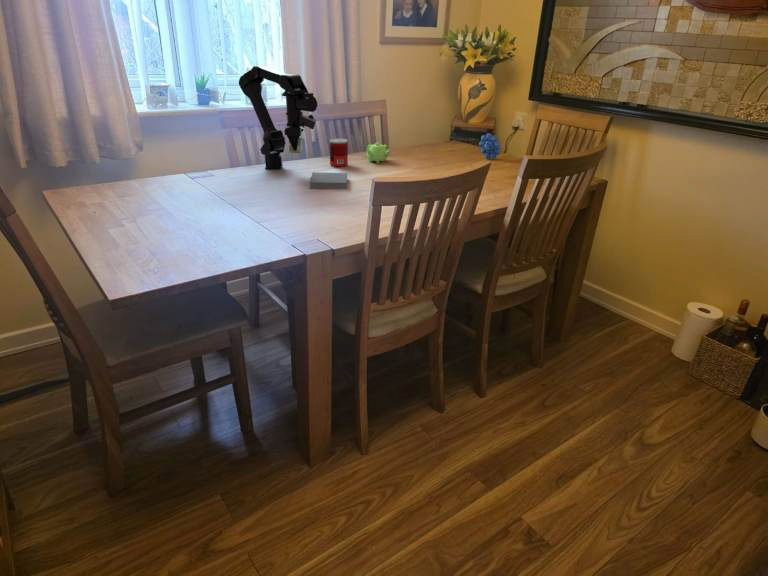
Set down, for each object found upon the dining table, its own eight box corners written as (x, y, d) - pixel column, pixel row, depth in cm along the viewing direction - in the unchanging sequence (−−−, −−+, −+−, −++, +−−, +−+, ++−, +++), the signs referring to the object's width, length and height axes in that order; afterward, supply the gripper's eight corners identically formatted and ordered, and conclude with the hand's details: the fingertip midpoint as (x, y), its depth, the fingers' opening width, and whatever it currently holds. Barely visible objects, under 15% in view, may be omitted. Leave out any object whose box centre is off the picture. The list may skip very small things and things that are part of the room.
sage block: (289, 152, 206) (288, 140, 204) (290, 150, 211) (290, 137, 208) (301, 153, 207) (301, 140, 204) (302, 150, 211) (302, 138, 209)
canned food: (351, 164, 228) (351, 139, 223) (340, 168, 222) (340, 142, 217) (337, 162, 232) (337, 137, 227) (326, 165, 226) (325, 140, 221)
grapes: (473, 158, 246) (476, 132, 241) (480, 155, 251) (483, 130, 245) (494, 162, 240) (497, 136, 234) (501, 160, 245) (504, 134, 239)
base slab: (310, 188, 195) (309, 182, 194) (312, 178, 207) (312, 172, 206) (346, 189, 196) (346, 182, 194) (347, 179, 208) (347, 172, 207)
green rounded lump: (363, 158, 240) (363, 140, 236) (387, 158, 242) (388, 140, 238) (366, 164, 230) (366, 145, 226) (391, 164, 232) (392, 145, 228)
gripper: (312, 113, 193) (314, 154, 200) (316, 106, 210) (317, 144, 217) (283, 112, 192) (285, 154, 200) (288, 105, 209) (291, 144, 216)
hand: (296, 149), depth 208 cm, fingers closed on sage block, 5 cm apart
